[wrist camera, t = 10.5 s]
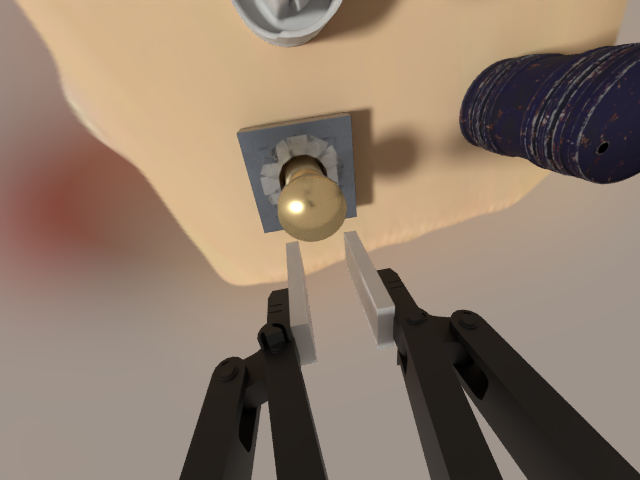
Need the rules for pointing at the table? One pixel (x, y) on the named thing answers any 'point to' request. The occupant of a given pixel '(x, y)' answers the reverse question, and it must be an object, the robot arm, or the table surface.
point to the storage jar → (561, 112)
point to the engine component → (286, 19)
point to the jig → (292, 140)
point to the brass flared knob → (310, 201)
